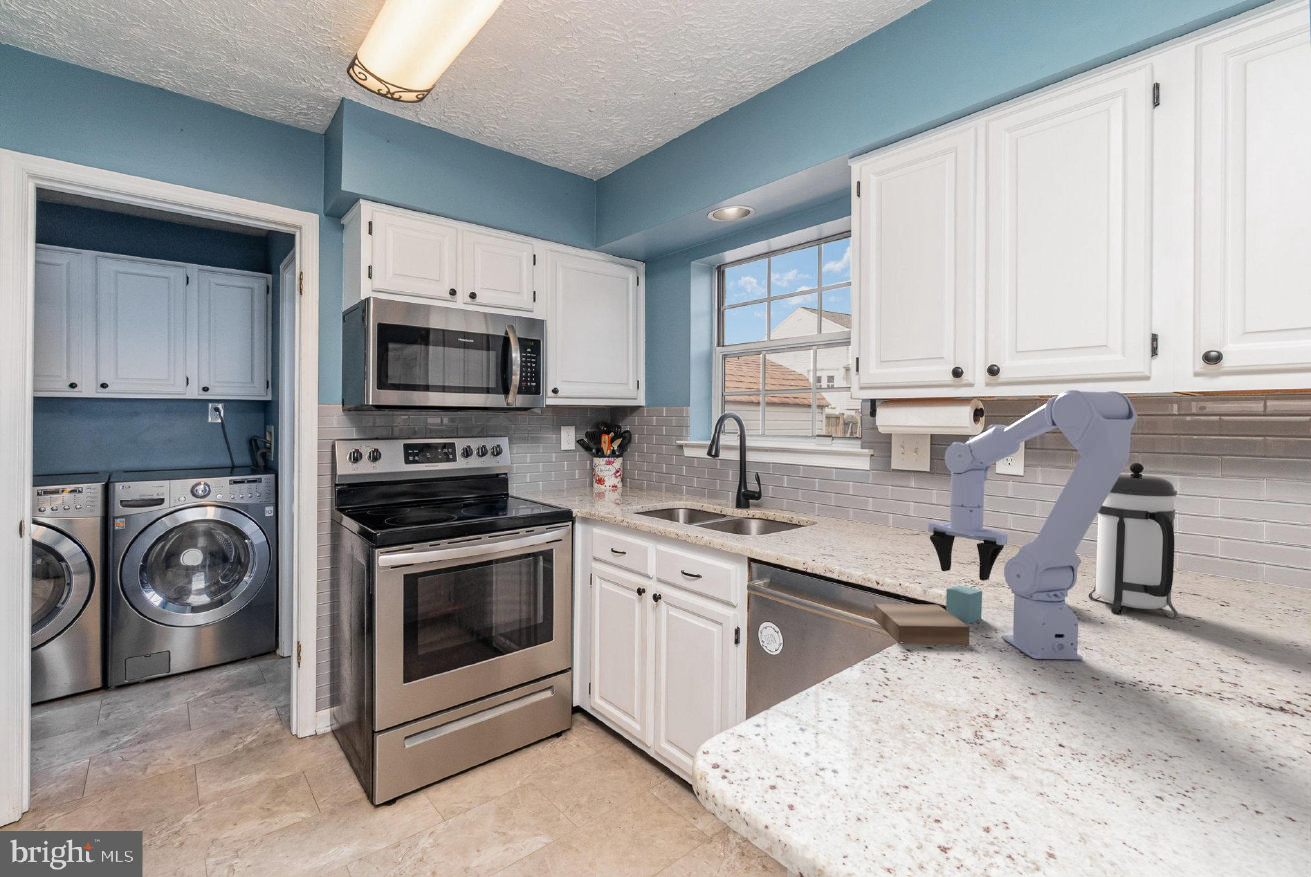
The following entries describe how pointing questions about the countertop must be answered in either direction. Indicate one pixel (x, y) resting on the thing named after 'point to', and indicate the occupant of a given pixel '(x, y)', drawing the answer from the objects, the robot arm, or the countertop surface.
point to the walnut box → (921, 624)
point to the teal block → (964, 603)
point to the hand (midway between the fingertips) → (964, 574)
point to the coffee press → (1136, 543)
